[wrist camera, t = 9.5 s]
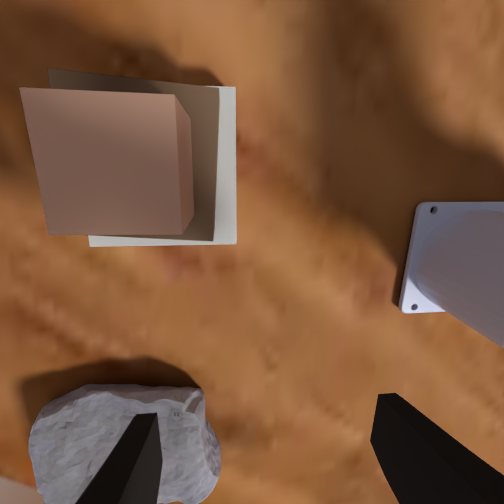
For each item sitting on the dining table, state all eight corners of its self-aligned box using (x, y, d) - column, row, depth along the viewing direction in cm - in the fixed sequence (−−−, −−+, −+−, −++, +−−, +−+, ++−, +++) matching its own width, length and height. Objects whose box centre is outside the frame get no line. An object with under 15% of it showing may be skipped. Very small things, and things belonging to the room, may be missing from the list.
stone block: (51, 376, 21) (80, 490, 23) (3, 418, 17) (42, 560, 18) (203, 345, 23) (224, 455, 24) (198, 377, 18) (224, 513, 19)
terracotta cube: (190, 118, 11) (174, 94, 8) (194, 214, 13) (181, 234, 9) (89, 114, 11) (19, 87, 7) (103, 213, 12) (48, 235, 8)
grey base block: (233, 99, 16) (235, 86, 14) (234, 234, 18) (236, 244, 16) (87, 93, 15) (62, 79, 13) (108, 235, 17) (90, 246, 15)
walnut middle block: (219, 101, 14) (219, 87, 11) (214, 230, 15) (213, 241, 13) (79, 86, 13) (47, 67, 10) (92, 223, 15) (66, 234, 12)
